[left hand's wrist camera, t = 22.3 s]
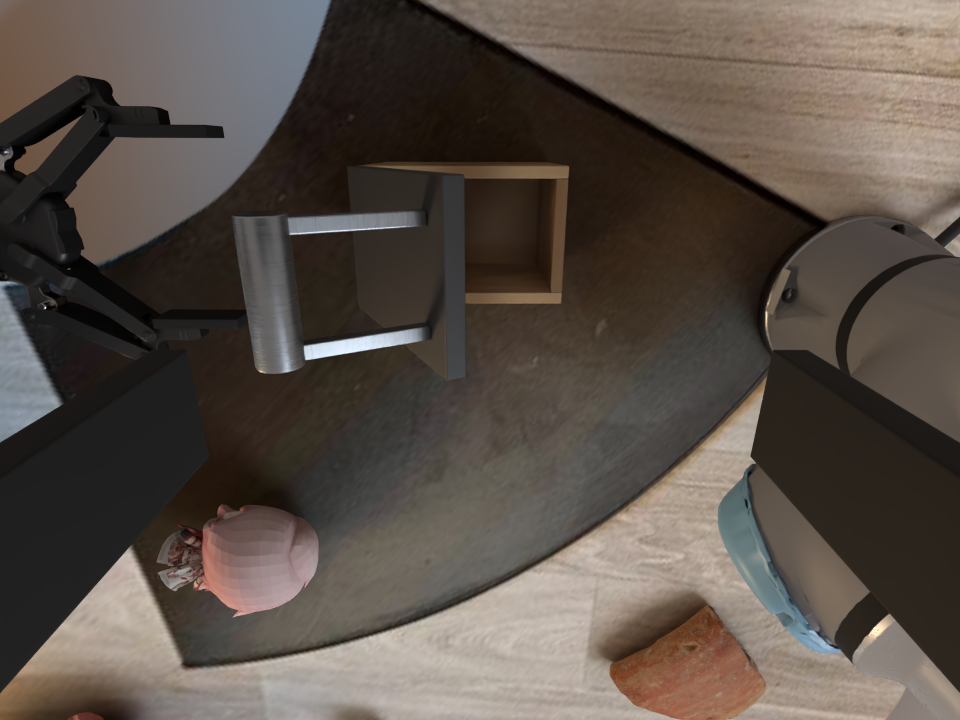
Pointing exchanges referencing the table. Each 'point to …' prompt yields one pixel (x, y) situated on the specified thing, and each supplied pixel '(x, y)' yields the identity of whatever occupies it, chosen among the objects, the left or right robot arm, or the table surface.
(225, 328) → the right robot arm
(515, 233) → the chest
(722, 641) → the ceramic shard
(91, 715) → the reddish clay figurine
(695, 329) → the table surface
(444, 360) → the lid
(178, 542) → the toy
